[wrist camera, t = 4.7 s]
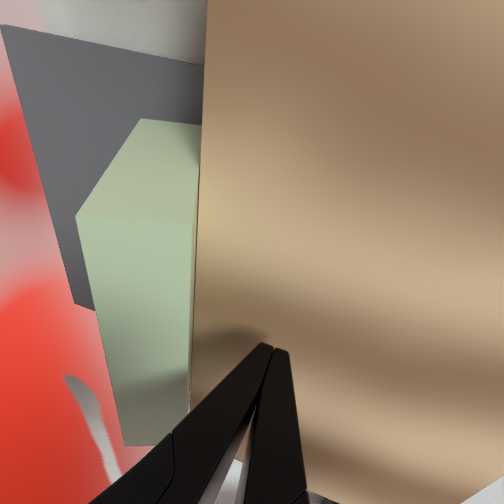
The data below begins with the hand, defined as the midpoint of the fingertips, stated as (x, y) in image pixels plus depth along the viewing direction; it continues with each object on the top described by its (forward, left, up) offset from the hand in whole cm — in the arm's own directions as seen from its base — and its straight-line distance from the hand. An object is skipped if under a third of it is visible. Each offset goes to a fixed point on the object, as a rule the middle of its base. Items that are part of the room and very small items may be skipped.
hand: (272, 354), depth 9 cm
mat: (-1, +8, -5) cm, 9 cm away
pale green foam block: (0, +3, -2) cm, 3 cm away
